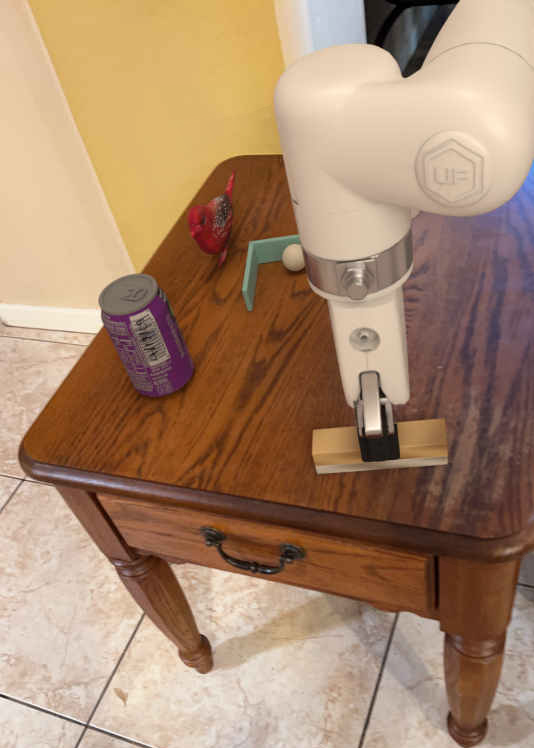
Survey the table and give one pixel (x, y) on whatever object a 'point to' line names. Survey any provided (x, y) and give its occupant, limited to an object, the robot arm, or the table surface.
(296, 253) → the crumb
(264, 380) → the table surface
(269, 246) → the teal open frame
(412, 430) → the brush
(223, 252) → the decorative bird figurine
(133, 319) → the beverage can
